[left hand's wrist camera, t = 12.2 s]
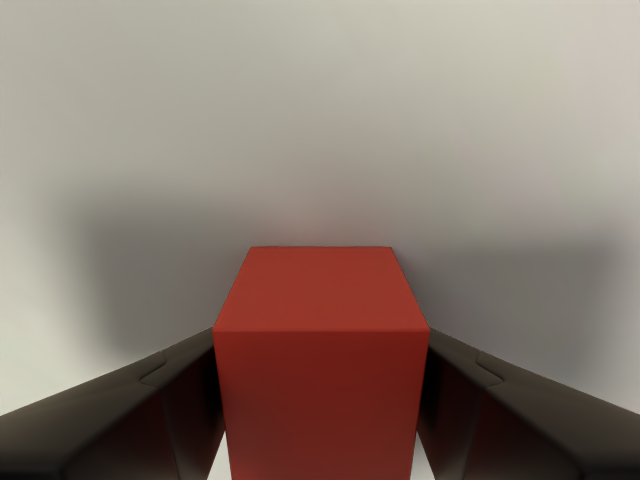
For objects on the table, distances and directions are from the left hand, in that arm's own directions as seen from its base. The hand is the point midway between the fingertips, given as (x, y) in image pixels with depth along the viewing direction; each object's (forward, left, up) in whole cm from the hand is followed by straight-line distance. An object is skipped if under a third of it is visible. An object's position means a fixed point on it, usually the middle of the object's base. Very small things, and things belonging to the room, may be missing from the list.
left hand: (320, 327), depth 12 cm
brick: (0, 0, -1) cm, 1 cm away
